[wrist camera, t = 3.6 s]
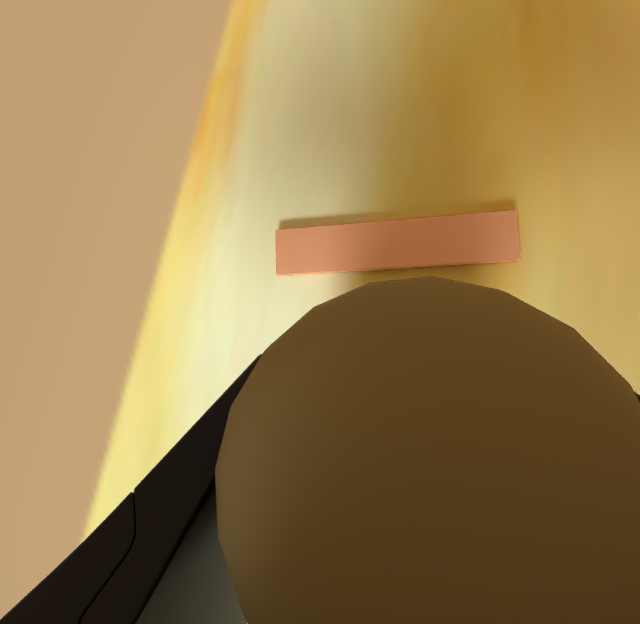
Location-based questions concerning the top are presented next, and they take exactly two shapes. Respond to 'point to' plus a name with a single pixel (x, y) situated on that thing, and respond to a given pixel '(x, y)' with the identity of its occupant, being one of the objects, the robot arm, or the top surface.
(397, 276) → the top surface
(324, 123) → the top surface
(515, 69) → the top surface
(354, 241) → the off strip
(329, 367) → the cork
